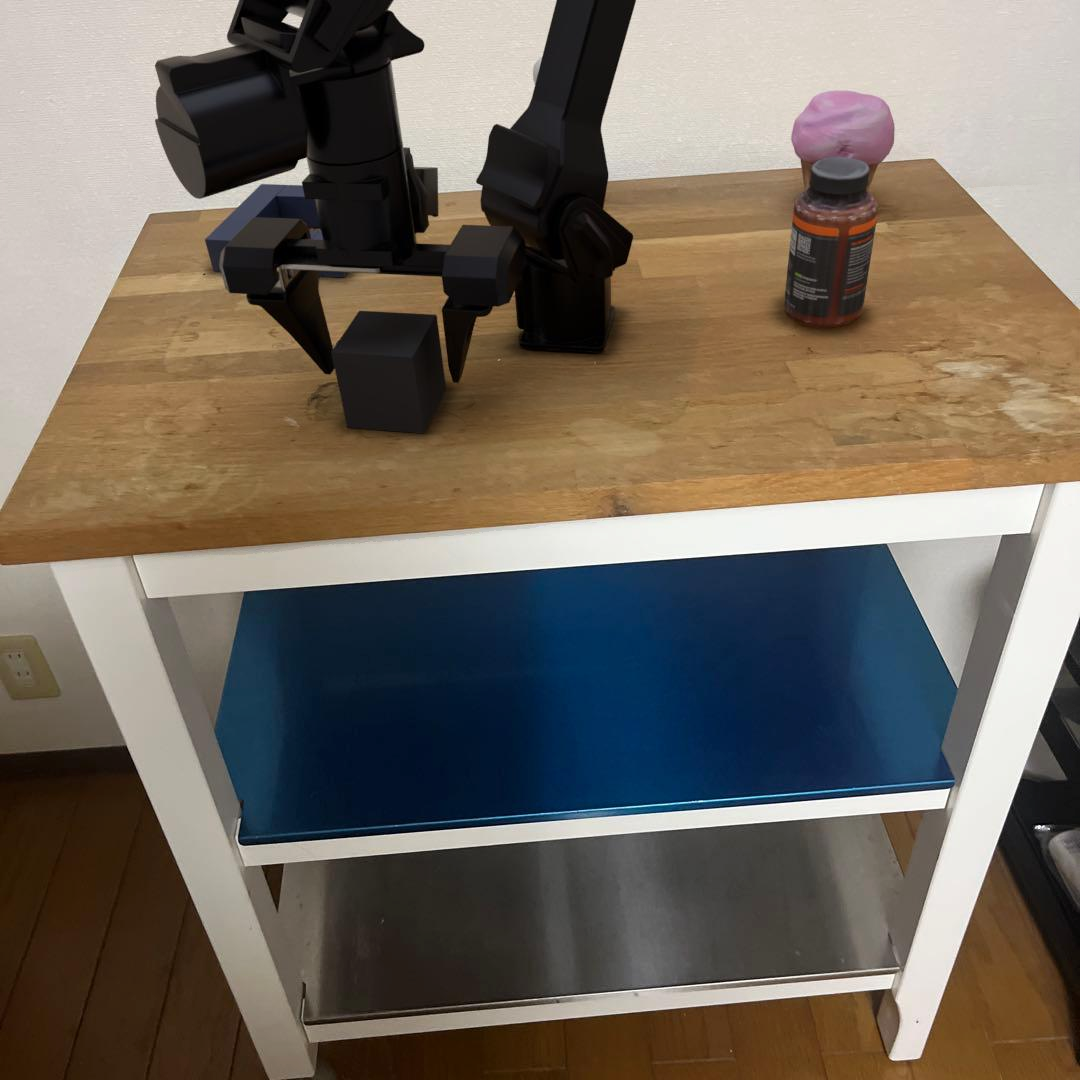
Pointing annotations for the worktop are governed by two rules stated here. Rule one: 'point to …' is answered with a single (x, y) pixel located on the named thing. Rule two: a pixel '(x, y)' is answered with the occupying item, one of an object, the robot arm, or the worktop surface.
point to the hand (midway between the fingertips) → (393, 375)
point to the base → (266, 205)
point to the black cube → (390, 371)
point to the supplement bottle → (831, 244)
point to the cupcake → (843, 130)
